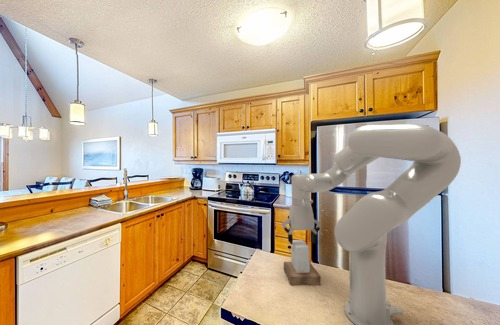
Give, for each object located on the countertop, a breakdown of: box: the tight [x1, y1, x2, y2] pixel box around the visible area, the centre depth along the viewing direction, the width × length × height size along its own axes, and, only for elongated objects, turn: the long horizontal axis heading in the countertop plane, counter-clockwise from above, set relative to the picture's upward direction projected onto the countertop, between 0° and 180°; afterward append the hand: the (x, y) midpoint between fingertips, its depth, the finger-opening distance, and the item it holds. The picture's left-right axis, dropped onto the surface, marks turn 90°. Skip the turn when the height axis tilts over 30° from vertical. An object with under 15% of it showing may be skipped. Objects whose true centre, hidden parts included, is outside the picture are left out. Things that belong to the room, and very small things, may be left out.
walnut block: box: [283, 260, 321, 287], centre depth 78 cm, size 12×12×4 cm
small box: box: [290, 239, 310, 273], centre depth 78 cm, size 8×6×10 cm
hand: (302, 242), depth 78 cm, fingers open, 9 cm apart
